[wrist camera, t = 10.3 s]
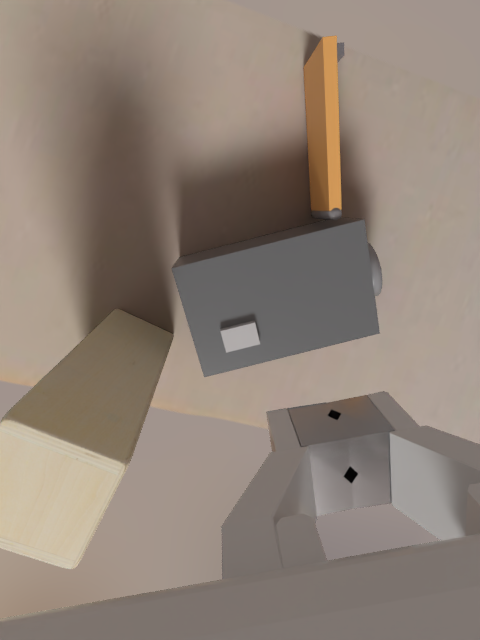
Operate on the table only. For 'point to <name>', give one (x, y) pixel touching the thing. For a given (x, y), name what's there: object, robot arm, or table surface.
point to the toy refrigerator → (77, 439)
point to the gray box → (280, 294)
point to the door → (324, 128)
